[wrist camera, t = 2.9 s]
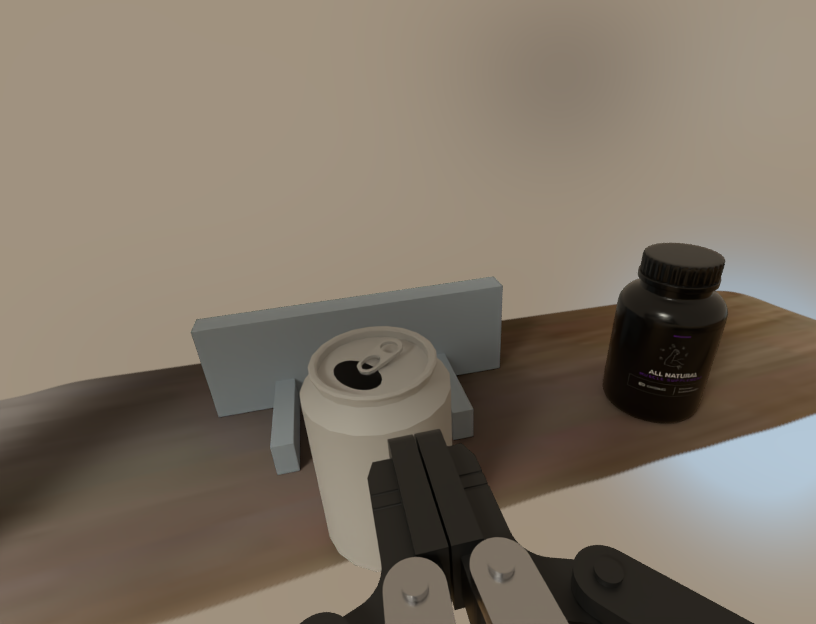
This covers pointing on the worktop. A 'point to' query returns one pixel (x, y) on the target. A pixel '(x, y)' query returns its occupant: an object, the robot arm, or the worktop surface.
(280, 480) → the worktop surface
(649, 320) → the supplement bottle
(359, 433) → the can
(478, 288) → the stop bay
